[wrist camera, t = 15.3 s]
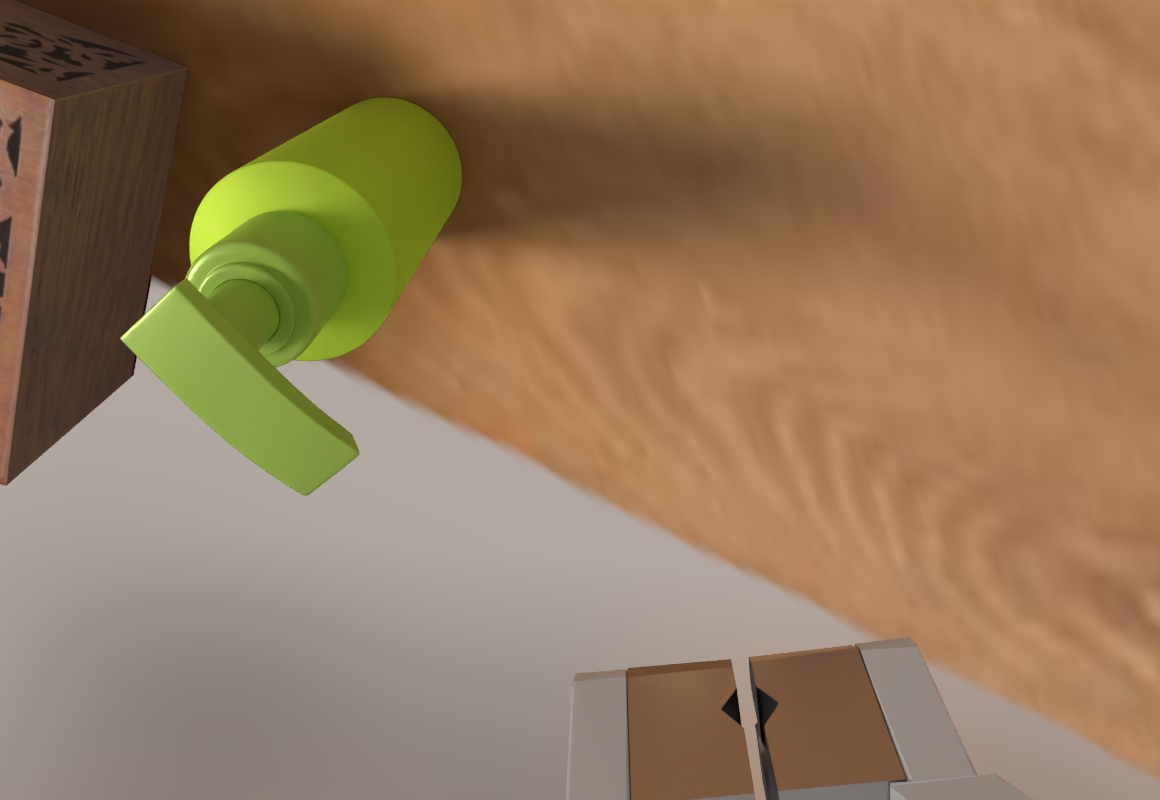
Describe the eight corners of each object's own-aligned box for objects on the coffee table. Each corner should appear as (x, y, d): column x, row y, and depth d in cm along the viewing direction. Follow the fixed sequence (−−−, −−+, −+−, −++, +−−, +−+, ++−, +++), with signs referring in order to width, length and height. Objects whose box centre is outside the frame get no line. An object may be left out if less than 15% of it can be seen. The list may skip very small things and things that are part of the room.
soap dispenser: (407, 286, 40) (242, 553, 22) (290, 161, 38) (-2, 343, 20) (508, 201, 38) (419, 414, 20) (391, 65, 36) (173, 167, 18)
